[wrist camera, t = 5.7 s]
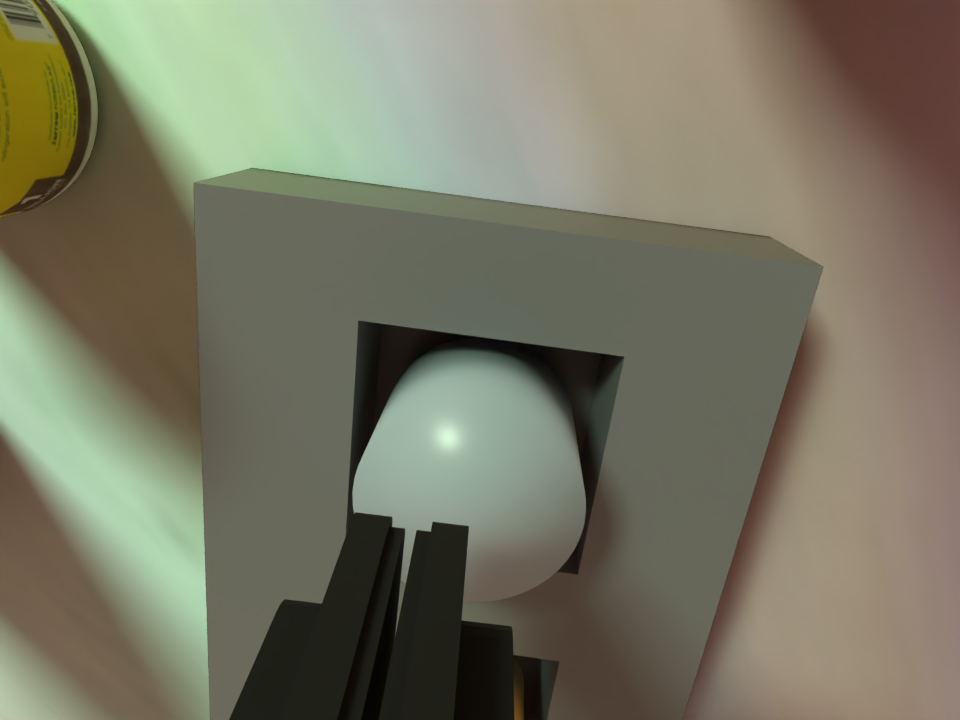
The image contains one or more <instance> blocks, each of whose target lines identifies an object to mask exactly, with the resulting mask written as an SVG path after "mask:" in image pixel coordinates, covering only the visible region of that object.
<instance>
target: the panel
mask: <svg viewBox="0 0 960 720" xmlns="http://www.w3.org/2000/svg"><path fill="white" fill-rule="evenodd" d="M194 215H195V248H196V280H197V312H198V345H199V377H200V410H201V442H202V474H203V507H204V539H205V571H206V604H207V636H208V668H209V701H210V720H229V719H230V716H231V714H232V712H233V709H234V707H235V705H236V703H237V700H238V698H239V696H240V693H241V691H242V689H243V687H244V684H245V682H246V680H247V677H248V675H249V673H250V671H251V668H252V666H253V664H254V661H255V659H256V657H257V655H258V652H259V650H260V648H261V645H262V643H263V641H264V639H265V636H266V634H267V632H268V630H269V627H270V625H271V623H272V620H273V618H274V616H275V614H276V611H277V609H278V608H279V606H280V604H281V602H282V601H283V600H284V599H287V600H296V601H304V602H312V603H321V604H322V602H323V599H324V596H325V593H326V591H327V588H328V585H329V582H330V579H331V576H332V574H333V571H334V568H335V565H336V562H337V560H338V557H339V554H340V551H341V548H342V546H343V543H344V540H345V537H346V534H347V531H348V529H349V526H350V523H351V520H352V517H353V515H354V510H353V495H352V491H353V484H354V478H355V475H356V471H357V468H358V465H359V463H360V461H361V459H362V456H363V454H364V452H365V450H366V447H367V445H368V443H369V441H370V439H371V436H372V434H373V432H374V430H375V428H376V425H377V423H378V421H379V419H380V417H381V414H382V412H383V410H384V408H385V406H386V403H387V401H388V399H389V397H390V395H391V392H392V390H393V388H394V386H395V384H396V382H397V380H398V379H399V377H400V376H401V374H402V373H403V372H404V371H405V370H406V368H407V367H408V366H409V365H410V364H411V363H412V362H413V361H415V360H416V359H417V358H418V357H419V356H421V355H422V354H424V353H426V352H427V351H429V350H431V349H433V348H435V347H437V346H439V345H441V344H445V343H448V342H451V341H455V340H461V339H469V338H485V339H494V340H499V341H504V342H507V343H510V344H513V345H516V346H518V347H520V348H522V349H524V350H526V351H528V352H530V353H531V354H533V355H534V356H536V357H538V358H539V359H540V360H541V361H542V362H544V363H545V364H546V365H547V366H548V367H549V368H550V369H551V370H552V371H553V372H554V373H555V375H556V376H557V377H558V379H559V380H560V382H561V383H562V385H563V387H564V389H565V391H566V393H567V395H568V398H569V401H570V404H571V407H572V413H573V418H574V425H575V431H576V438H577V444H578V451H579V457H580V464H581V470H582V477H583V483H584V489H585V496H586V515H585V523H584V527H583V530H582V534H581V537H580V539H579V541H578V543H577V545H576V548H575V549H574V551H573V552H572V554H571V555H570V557H569V559H568V560H567V561H566V562H565V563H564V564H563V566H562V567H561V568H560V569H559V570H558V571H557V572H556V573H554V574H553V575H552V576H551V577H550V578H549V579H547V580H546V581H544V582H543V583H541V584H540V585H538V586H536V587H534V588H532V589H530V590H528V591H526V592H524V593H521V594H519V595H516V596H513V597H509V598H505V599H501V600H496V601H488V602H463V608H462V620H463V621H471V622H479V623H488V624H496V625H505V626H512V630H513V655H514V656H515V658H516V660H517V661H518V663H519V666H520V668H521V670H522V675H523V679H524V720H682V719H683V716H684V713H685V709H686V706H687V703H688V700H689V697H690V693H691V690H692V687H693V684H694V681H695V677H696V674H697V671H698V668H699V665H700V661H701V658H702V655H703V652H704V649H705V645H706V642H707V639H708V636H709V632H710V629H711V626H712V623H713V620H714V616H715V613H716V610H717V607H718V604H719V600H720V597H721V594H722V591H723V588H724V584H725V581H726V578H727V575H728V572H729V568H730V565H731V562H732V559H733V556H734V552H735V549H736V546H737V543H738V540H739V536H740V533H741V530H742V527H743V524H744V520H745V517H746V514H747V511H748V507H749V504H750V501H751V498H752V495H753V491H754V488H755V485H756V482H757V479H758V475H759V472H760V469H761V466H762V463H763V459H764V456H765V453H766V450H767V447H768V443H769V440H770V437H771V434H772V431H773V427H774V424H775V421H776V418H777V415H778V411H779V408H780V405H781V402H782V399H783V395H784V392H785V389H786V386H787V382H788V379H789V376H790V373H791V370H792V366H793V363H794V360H795V357H796V354H797V350H798V347H799V344H800V341H801V338H802V334H803V331H804V328H805V325H806V322H807V318H808V315H809V312H810V309H811V306H812V302H813V299H814V296H815V293H816V290H817V286H818V283H819V280H820V277H821V274H822V270H823V266H821V265H820V264H818V263H816V262H814V261H812V260H811V259H809V258H807V257H805V256H803V255H802V254H800V253H798V252H796V251H794V250H793V249H791V248H789V247H787V246H785V245H784V244H782V243H780V242H778V241H776V240H775V239H773V238H771V237H768V236H760V235H753V234H745V233H738V232H730V231H723V230H715V229H708V228H700V227H693V226H685V225H677V224H670V223H662V222H655V221H647V220H640V219H632V218H625V217H617V216H610V215H602V214H595V213H587V212H580V211H572V210H565V209H557V208H550V207H542V206H534V205H527V204H519V203H512V202H504V201H497V200H489V199H482V198H474V197H467V196H459V195H452V194H444V193H437V192H429V191H422V190H414V189H407V188H399V187H392V186H384V185H376V184H369V183H361V182H354V181H346V180H339V179H331V178H324V177H316V176H309V175H301V174H294V173H286V172H279V171H271V170H264V169H256V168H250V169H246V170H242V171H238V172H234V173H230V174H226V175H222V176H218V177H214V178H211V179H207V180H203V181H199V182H195V183H194ZM405 585H406V583H404V582H402V581H401V582H400V592H399V603H398V613H397V623H396V630H397V625H398V620H399V615H400V610H401V605H402V600H403V595H404V590H405ZM395 635H396V634H395Z"/></svg>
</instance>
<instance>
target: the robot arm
mask: <svg viewBox="0 0 960 720" xmlns="http://www.w3.org/2000/svg"><path fill="white" fill-rule="evenodd" d="M468 533H469V526H465V525H457V524H448V523H440V522H432V527H431V532H430V531H422V530H417V531H416V535H415V540H414V545H413V550H412V555H411V560H410V565H409V570H408V575H407V580H406V585H405V590H404V595H403V600H402V605H401V610H400V615H399V620H398V625H397V630H396V623H397V613H398V603H399V592H400V582H401V571H402V561H403V551H404V540H405V528H397V527H392V517H391V516H383V515H374V514H366V513H358V512H355V513H354V515H353V517H352V520H351V523H350V526H349V529H348V531H347V534H346V537H345V540H344V543H343V546H342V548H341V551H340V554H339V557H338V560H337V562H336V565H335V568H334V571H333V574H332V576H331V579H330V582H329V585H328V588H327V591H326V593H325V596H324V599H323V602H322V604H321V603H312V602H304V601H296V600H287V599H284V600H283V601H282V602H281V604H280V606H279V608H278V609H277V611H276V614H275V616H274V618H273V620H272V623H271V625H270V627H269V630H268V632H267V634H266V636H265V639H264V641H263V643H262V645H261V648H260V650H259V652H258V655H257V657H256V659H255V661H254V664H253V666H252V668H251V671H250V673H249V675H248V677H247V680H246V682H245V684H244V687H243V689H242V691H241V693H240V696H239V698H238V700H237V703H236V705H235V707H234V709H233V712H232V714H231V716H230V719H229V720H514V663H513V630H512V626H505V625H496V624H488V623H479V622H471V621H463V620H462V608H463V596H464V583H465V571H466V558H467V546H468ZM395 634H396V635H395Z"/></svg>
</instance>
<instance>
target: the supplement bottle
mask: <svg viewBox="0 0 960 720" xmlns="http://www.w3.org/2000/svg"><path fill="white" fill-rule="evenodd" d="M97 122H98V101H97V94H96V88H95V82H94V78H93V74H92V71H91V68H90V65H89V62H88V59H87V56H86V54H85V52H84V49H83V47H82V45H81V43H80V41H79V39H78V37H77V35H76V34H75V32H74V30H73V29H72V27H71V26H70V24H69V23H68V21H67V20H66V18H65V17H64V15H63V14H62V13H61V11H60V10H59V9H58V8H57V6H56V5H55V4H54V3H53V1H52V0H0V218H1V217H5V216H9V215H13V214H17V213H20V212H24V211H28V210H31V209H34V208H36V207H39V206H41V205H43V204H46V203H47V202H49V201H51V200H53V199H54V198H56V197H57V196H59V195H60V194H61V193H63V192H64V191H65V190H66V189H67V188H68V187H69V186H70V185H71V184H72V183H73V182H74V181H75V180H76V179H77V178H78V176H79V175H80V173H81V172H82V170H83V168H84V167H85V165H86V163H87V161H88V159H89V157H90V155H91V152H92V148H93V145H94V141H95V137H96V132H97Z"/></svg>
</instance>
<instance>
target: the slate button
mask: <svg viewBox="0 0 960 720" xmlns="http://www.w3.org/2000/svg"><path fill="white" fill-rule="evenodd" d="M352 495H353V510H354V513H355V512H358V513H366V514H374V515H383V516H391V517H392V527H397V528H405V540H404V551H403V561H402V571H401V581H402V582H404V583H406V580H407V575H408V570H409V565H410V560H411V555H412V550H413V545H414V540H415V535H416V531H417V530H422V531H430V532H431V527H432V522H440V523H448V524H457V525H465V526H469V533H468V546H467V558H466V571H465V583H464V596H463V602H488V601H496V600H501V599H505V598H509V597H513V596H516V595H519V594H521V593H524V592H526V591H528V590H530V589H532V588H534V587H536V586H538V585H540V584H541V583H543V582H544V581H546V580H547V579H549V578H550V577H551V576H552V575H553V574H554V573H556V572H557V571H558V570H559V569H560V568H561V567H562V566H563V564H564V563H565V562H566V561H567V560H568V559H569V557H570V555H571V554H572V552H573V551H574V549H575V548H576V545H577V543H578V541H579V539H580V537H581V534H582V530H583V527H584V523H585V515H586V496H585V489H584V483H583V477H582V470H581V464H580V457H579V451H578V444H577V438H576V431H575V425H574V418H573V413H572V407H571V404H570V401H569V398H568V395H567V393H566V391H565V389H564V387H563V385H562V383H561V382H560V380H559V379H558V377H557V376H556V375H555V373H554V372H553V371H552V370H551V369H550V368H549V367H548V366H547V365H546V364H545V363H544V362H542V361H541V360H540V359H539V358H538V357H536V356H534V355H533V354H531V353H530V352H528V351H526V350H524V349H522V348H520V347H518V346H516V345H513V344H510V343H507V342H504V341H499V340H494V339H485V338H469V339H461V340H455V341H451V342H448V343H445V344H441V345H439V346H437V347H435V348H433V349H431V350H429V351H427V352H426V353H424V354H422V355H421V356H419V357H418V358H417V359H416V360H415V361H413V362H412V363H411V364H410V365H409V366H408V367H407V368H406V370H405V371H404V372H403V373H402V374H401V376H400V377H399V379H398V380H397V382H396V384H395V386H394V388H393V390H392V392H391V395H390V397H389V399H388V401H387V403H386V406H385V408H384V410H383V412H382V414H381V417H380V419H379V421H378V423H377V425H376V428H375V430H374V432H373V434H372V436H371V439H370V441H369V443H368V445H367V447H366V450H365V452H364V454H363V456H362V459H361V461H360V463H359V465H358V468H357V471H356V475H355V478H354V484H353V491H352Z"/></svg>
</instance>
